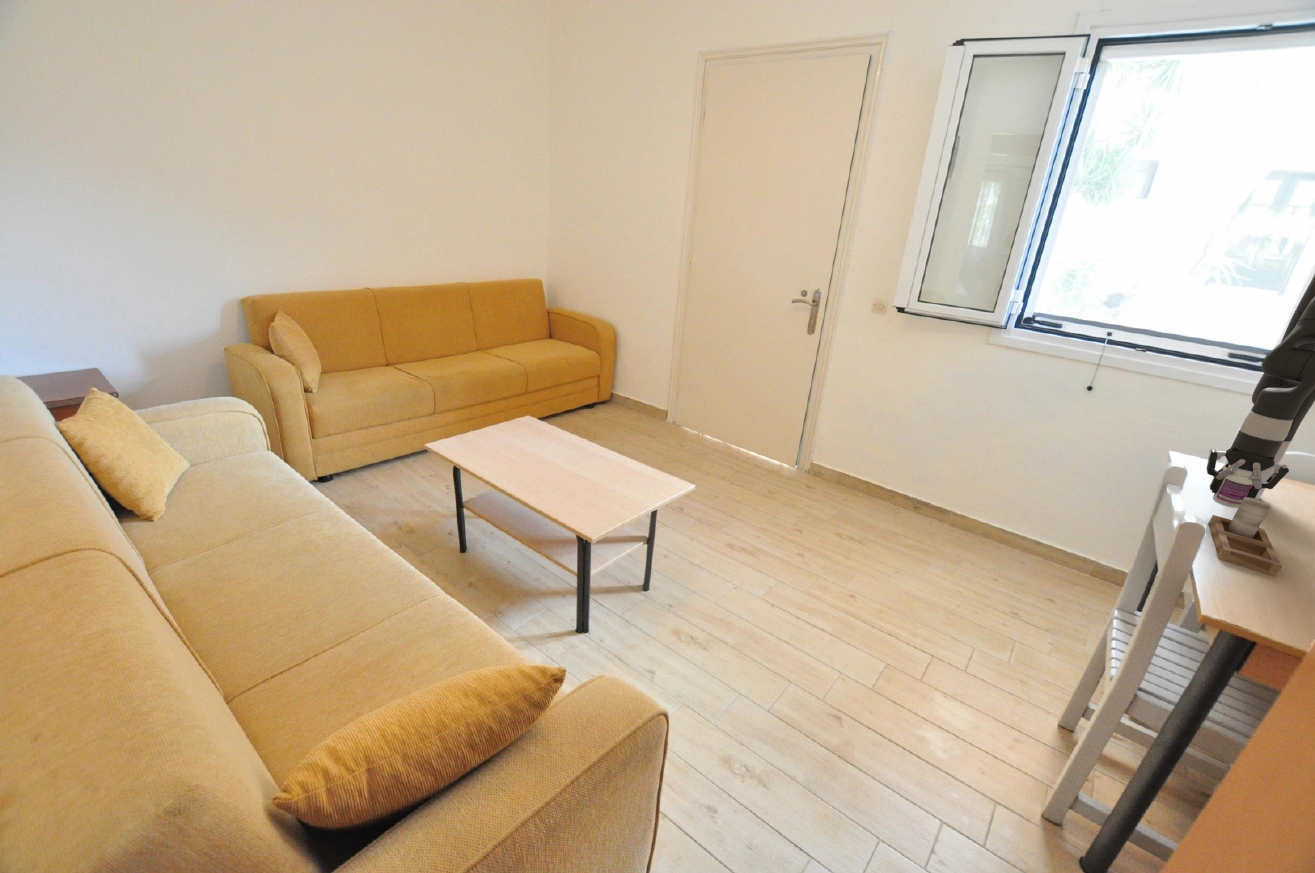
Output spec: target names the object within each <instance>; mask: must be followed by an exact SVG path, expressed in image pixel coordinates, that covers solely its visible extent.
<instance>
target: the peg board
mask: <svg viewBox="0 0 1315 873" xmlns="http://www.w3.org/2000/svg"><path fill="white" fill-rule="evenodd" d="M1270 508H1271V504H1270V503H1268V502H1266V501H1263V500H1260V499H1259V500H1258V499H1254V498H1249V497H1245V498H1244V499H1243V500H1242V502H1241V504H1240V506H1239V508H1237V509H1236V512H1235V514H1234V515H1233V518H1232V519H1230V518H1229V519H1228V518H1227V517H1222V516H1218V515H1215V514H1212V516H1211V517H1210V520H1209V521H1208V523H1207V524H1208V527H1209V530H1210V535H1211V538H1212V541H1213V545H1214V548H1215V552H1216V556H1217V559H1218V560H1221V561H1225V562H1228V563H1230V564H1231V563H1232V564H1235V565H1238V566H1241V567H1244V568H1248V569H1251V570H1254V571H1257V572H1261V573H1264V574H1267V575H1269V576H1270V575H1271V576H1274V577H1277V575H1278V574H1279V572H1280V570H1281V569H1282V566H1283V565H1282V563H1281V562H1280V560H1279V557H1278V555H1277V553H1276V551H1275V549H1274V546H1273V545H1272V543H1271V540H1270V538H1269V536H1268V534H1267V532H1266V530H1265V528H1262V527H1260V526H1261V524H1262V522H1264V519H1265V518H1266V516H1267V514H1268V511H1270Z"/></svg>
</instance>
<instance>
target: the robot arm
mask: <svg viewBox="0 0 1315 873" xmlns="http://www.w3.org/2000/svg"><path fill="white" fill-rule="evenodd" d="M1296 306H1297V307H1296V309H1295V310H1294V312H1293V315H1292V316H1291V319H1290V320H1289V322H1288V325H1287V328H1285V329H1286V330H1285V332H1284V334H1283V336H1282V339H1281V341H1280V343H1279V344H1277V345H1276V347H1274V348H1273V349H1272V350H1271V351H1269V352H1268V353H1267V355H1266V356H1265V357H1264V359H1263V360H1262V364H1261V370H1262V372H1263V374H1262V375H1261V377H1260V379H1259V380H1258V383H1257V384H1256V386H1255V388H1254V390H1253V392H1252V397H1251V402H1252V404H1253V406H1252V408H1251V409H1250V411H1249V413H1248V414H1247V415H1246V417H1245V419H1244V421H1243V422H1242V424H1241V426H1240V428H1239V430H1238V432H1237V434H1236V435H1235V438H1234V440H1233V442H1232V444H1231V446H1230V447H1229V448H1228V449H1227V450H1226V451H1224V450H1216V449H1214V448H1212V449H1210V450H1209V452H1208V453H1209V454H1208V460H1207V466H1206V472H1207V475H1209V476H1212V477H1213V478H1212V480H1211V483H1210V484H1209V490H1210V492H1211V493H1212V494H1216V493H1217V491H1218V489H1219V487H1220V485H1221V483H1222V478H1224V477H1225V476H1226V475H1228V474H1230V473H1232V472H1233V471H1234V470H1236V469H1237V468H1239V469H1243V470H1248V471H1252V472H1253V476H1252V477H1251V478H1252V479H1253V480H1254V483H1253V485H1252V487H1251V489H1250V491H1249V493H1248V495H1247V497H1249V498H1254V499H1258V500H1260V499H1261V498H1262V496H1263V494H1264V492H1265V491H1266V489H1267V490H1273V489H1274V488H1275V487H1276V486H1277V484H1279V483H1280V481H1281V480H1282V479H1284V477H1285V476H1287V474H1289V471H1290V470H1289V467H1288V465H1286V464H1281V461H1282V459H1283V458H1284V455H1285V454H1286V453H1287V452H1286V451H1287V450H1288V448H1289V446H1291V445H1290V444H1291V443H1292V441H1293V439H1294V437H1295V435H1296V433H1297V431H1298V430H1299V427H1300V425H1301V423H1302V421H1303V420H1304V419H1305V417H1306V415H1307V414H1308V412H1309V411H1310V409H1311V407H1312V406H1313V404H1314V403H1315V273H1314V275H1313V277H1312V279H1311V281H1310V282H1309V284H1308V286H1307V288H1306V290H1305V292H1304V293H1303V295H1302V297H1301V299H1300V301H1299V303H1298V305H1296ZM1222 457H1225V459H1226V463H1225V464H1224V465H1223V466H1222V467H1221V468H1220V469H1218V470H1216V465H1217V461H1219V460H1221V459H1222Z"/></svg>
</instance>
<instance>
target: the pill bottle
mask: <svg viewBox="0 0 1315 873" xmlns="http://www.w3.org/2000/svg"><path fill="white" fill-rule="evenodd" d="M1252 476H1253V472H1252V471H1248V470H1243V469H1239V468H1237V469H1236V470H1234V471H1233V472H1232V473H1230V474H1228V475H1226V476H1225V477H1224V478H1222V483H1221V485H1220V487H1219V489H1218V491H1217V493H1216V494H1215V493H1213V496H1212V500H1213V501H1214V502H1215V503H1217V504H1219V505H1221V506H1224V507H1228V508H1234V509H1238V508H1239V506H1240V504H1241V502H1242V500H1243V499H1244V498H1245V497H1247V495H1248V493H1249V491H1250V489H1251V487H1252V485H1253V483H1254V480H1253V479H1252V478H1251V477H1252Z"/></svg>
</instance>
